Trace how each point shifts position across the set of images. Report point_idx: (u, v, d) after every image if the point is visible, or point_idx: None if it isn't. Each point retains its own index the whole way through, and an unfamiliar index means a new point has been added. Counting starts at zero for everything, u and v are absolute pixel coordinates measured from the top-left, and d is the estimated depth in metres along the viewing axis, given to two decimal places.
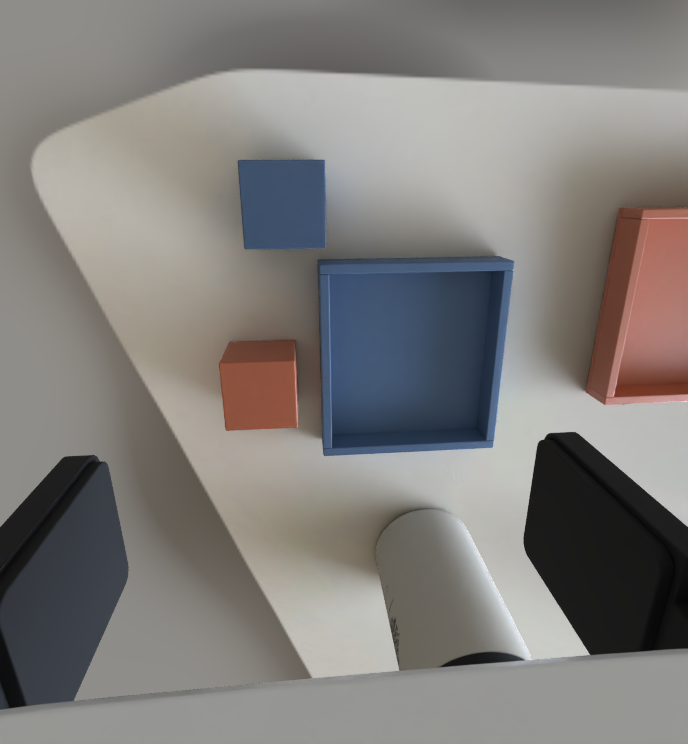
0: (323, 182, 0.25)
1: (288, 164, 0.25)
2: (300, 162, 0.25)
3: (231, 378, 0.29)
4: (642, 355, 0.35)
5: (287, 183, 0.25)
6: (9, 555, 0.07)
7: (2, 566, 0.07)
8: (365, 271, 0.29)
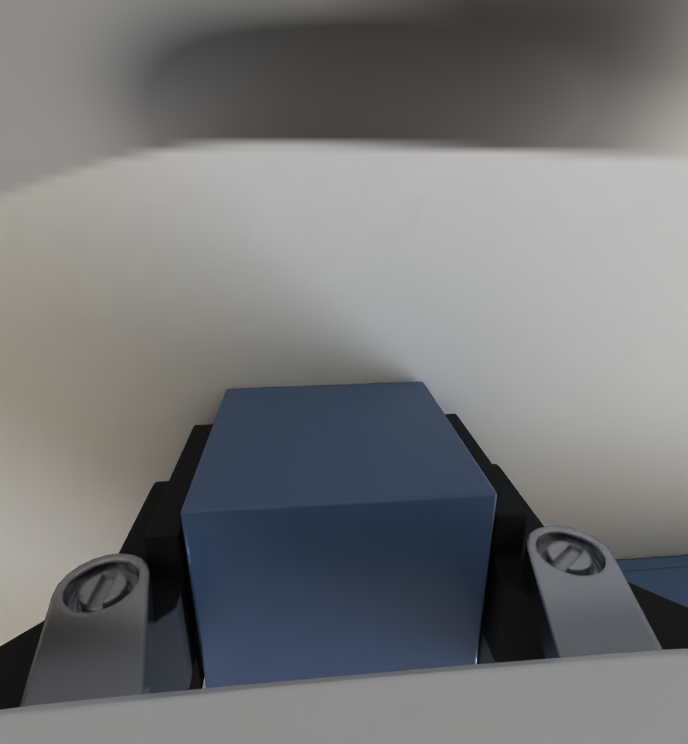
0: (485, 555, 0.07)
1: (367, 516, 0.07)
2: (411, 506, 0.07)
3: None
4: None
5: (360, 566, 0.07)
6: None
7: None
8: None
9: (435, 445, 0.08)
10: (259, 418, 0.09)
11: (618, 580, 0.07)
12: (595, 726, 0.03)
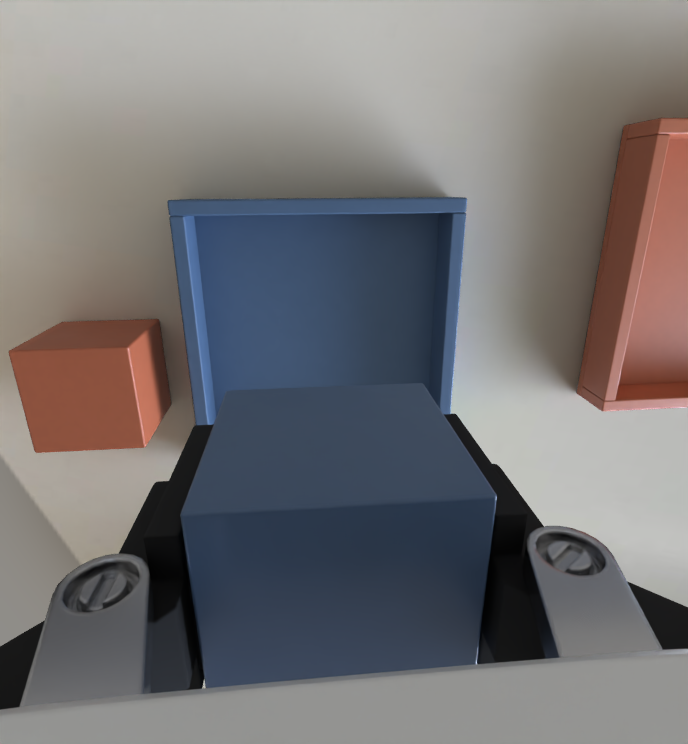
0: (485, 557, 0.07)
1: (367, 518, 0.07)
2: (411, 509, 0.07)
3: (31, 373, 0.19)
4: (655, 341, 0.25)
5: (360, 569, 0.07)
6: None
7: None
8: (240, 212, 0.19)
9: (435, 447, 0.08)
10: (259, 420, 0.09)
11: (618, 580, 0.07)
12: (595, 726, 0.03)
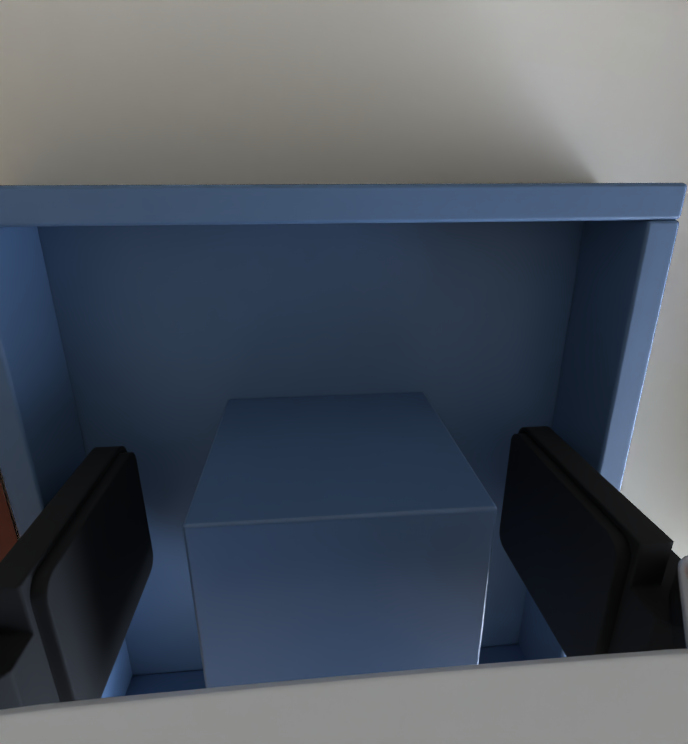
0: (485, 568, 0.07)
1: (367, 529, 0.07)
2: (412, 521, 0.07)
3: None
4: None
5: (361, 580, 0.07)
6: (52, 538, 0.07)
7: (47, 548, 0.07)
8: (118, 217, 0.07)
9: (436, 458, 0.08)
10: (261, 430, 0.09)
11: None
12: (595, 726, 0.03)
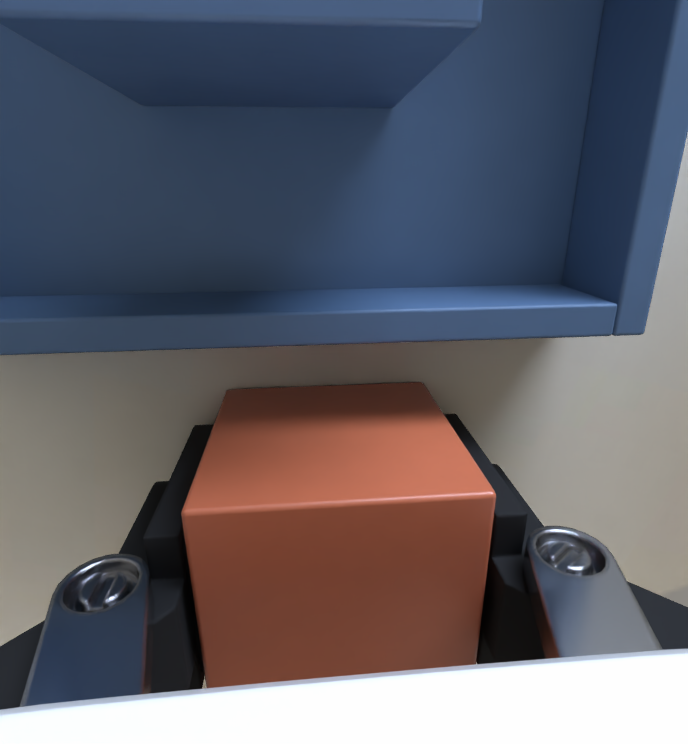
0: None
1: None
2: None
3: None
4: None
5: None
6: None
7: None
8: None
9: None
10: None
11: (618, 580, 0.07)
12: (595, 726, 0.03)
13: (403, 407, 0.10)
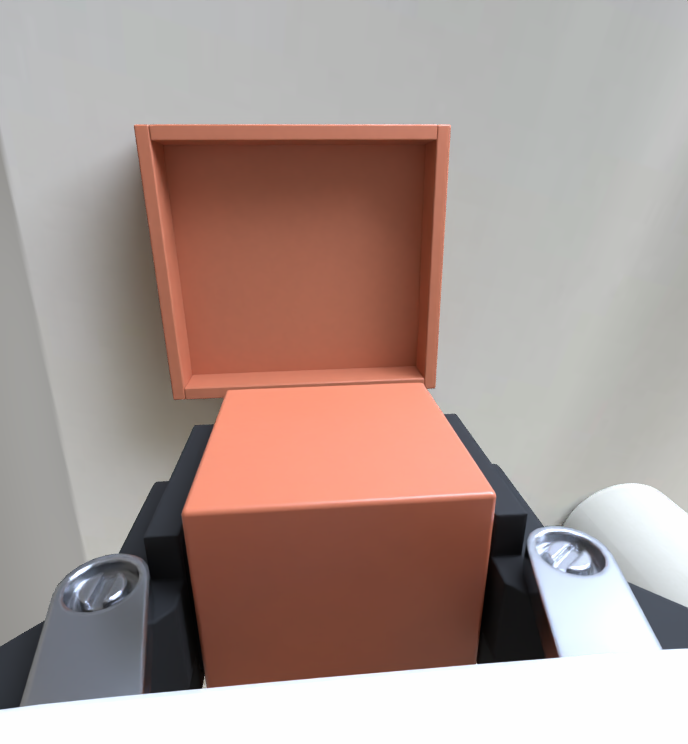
0: None
1: None
2: None
3: None
4: (374, 311, 0.25)
5: None
6: None
7: None
8: None
9: None
10: None
11: (618, 580, 0.07)
12: (595, 726, 0.03)
13: (403, 407, 0.10)
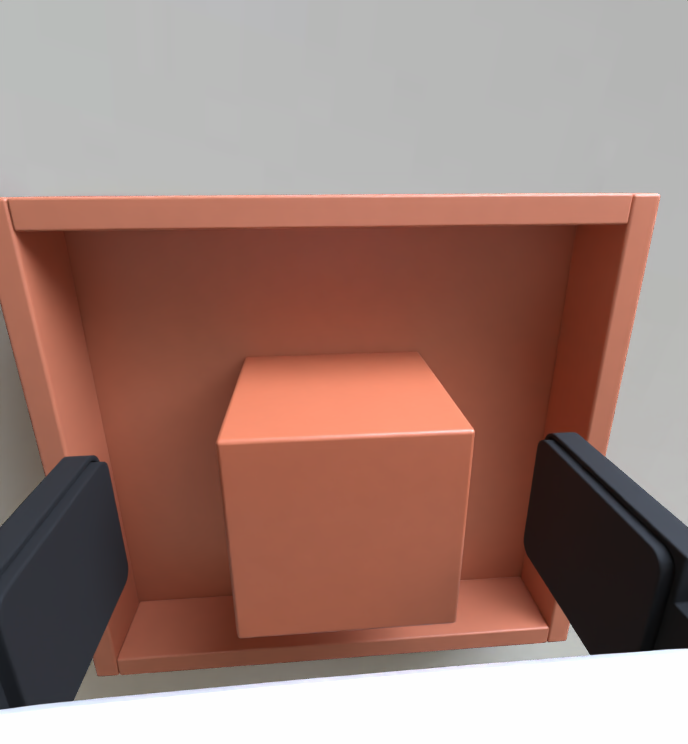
0: None
1: None
2: None
3: (283, 612, 0.09)
4: None
5: None
6: (9, 555, 0.07)
7: (2, 566, 0.07)
8: None
9: None
10: None
11: None
12: (595, 726, 0.03)
13: (400, 370, 0.11)
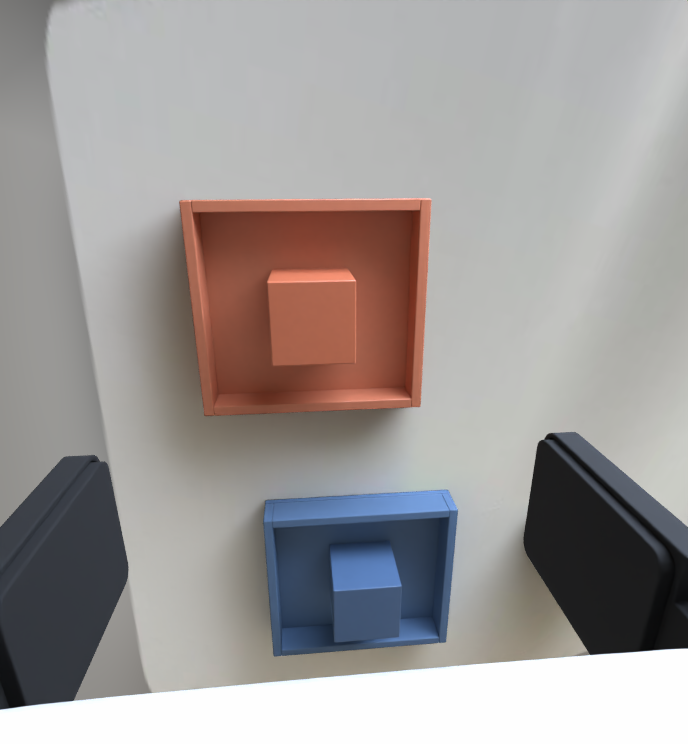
0: (350, 590, 0.31)
1: (337, 613, 0.32)
2: (335, 606, 0.31)
3: (289, 354, 0.25)
4: (369, 343, 0.30)
5: (351, 613, 0.32)
6: (9, 555, 0.07)
7: (2, 566, 0.07)
8: (277, 628, 0.35)
9: None
10: (331, 599, 0.35)
11: None
12: (595, 726, 0.03)
13: (336, 271, 0.27)
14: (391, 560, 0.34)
